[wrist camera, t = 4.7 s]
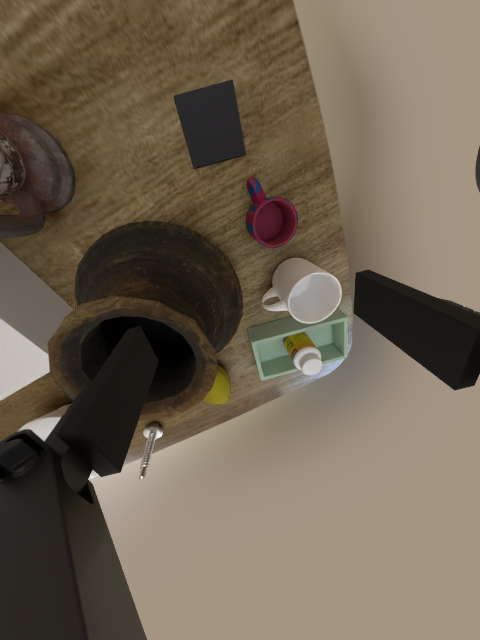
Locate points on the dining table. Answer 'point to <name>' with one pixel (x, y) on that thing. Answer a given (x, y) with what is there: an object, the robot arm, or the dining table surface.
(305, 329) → the bin
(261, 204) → the cup
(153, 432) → the screw
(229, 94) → the coaster
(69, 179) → the lantern
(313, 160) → the dining table surface
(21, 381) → the box
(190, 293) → the ceramic pot
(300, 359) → the supplement bottle
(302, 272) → the mug
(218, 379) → the lemon
